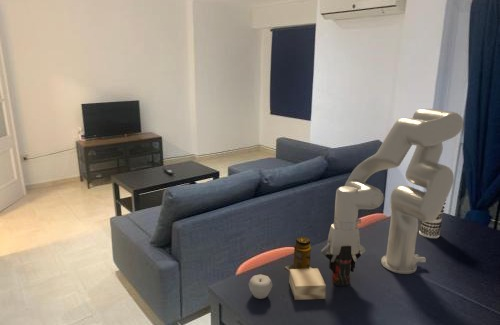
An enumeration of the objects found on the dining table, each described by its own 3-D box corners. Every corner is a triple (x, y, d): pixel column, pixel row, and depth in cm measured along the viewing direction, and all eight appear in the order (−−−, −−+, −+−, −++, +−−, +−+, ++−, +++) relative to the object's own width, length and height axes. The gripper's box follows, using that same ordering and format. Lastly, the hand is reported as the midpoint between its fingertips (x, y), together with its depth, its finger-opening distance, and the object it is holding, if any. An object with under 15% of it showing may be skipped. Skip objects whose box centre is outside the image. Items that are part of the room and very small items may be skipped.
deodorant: (351, 286, 122) (354, 247, 118) (334, 286, 123) (337, 247, 119) (347, 276, 128) (350, 238, 124) (330, 276, 128) (333, 238, 124)
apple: (248, 287, 121) (248, 270, 119) (271, 288, 121) (272, 271, 119) (247, 303, 113) (248, 285, 112) (272, 303, 113) (273, 285, 111)
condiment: (314, 270, 132) (316, 241, 129) (297, 277, 128) (298, 247, 125) (301, 261, 138) (303, 233, 135) (284, 267, 134) (285, 238, 130)
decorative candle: (415, 228, 167) (422, 178, 161) (436, 230, 166) (444, 179, 159) (421, 237, 158) (429, 184, 152) (443, 239, 157) (452, 185, 151)
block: (317, 280, 126) (317, 268, 124) (324, 298, 116) (326, 285, 115) (289, 281, 125) (289, 269, 123) (294, 299, 115) (295, 286, 114)
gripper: (365, 217, 124) (361, 263, 128) (317, 219, 122) (314, 265, 127) (374, 226, 116) (369, 275, 121) (323, 228, 115) (320, 277, 120)
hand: (341, 269), depth 124 cm, fingers closed on deodorant, 5 cm apart
